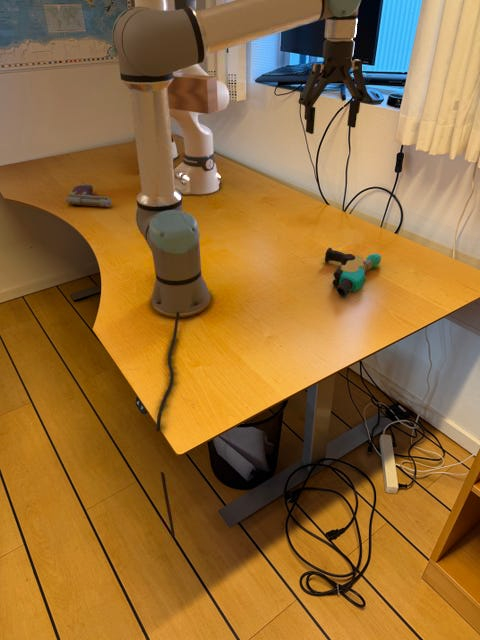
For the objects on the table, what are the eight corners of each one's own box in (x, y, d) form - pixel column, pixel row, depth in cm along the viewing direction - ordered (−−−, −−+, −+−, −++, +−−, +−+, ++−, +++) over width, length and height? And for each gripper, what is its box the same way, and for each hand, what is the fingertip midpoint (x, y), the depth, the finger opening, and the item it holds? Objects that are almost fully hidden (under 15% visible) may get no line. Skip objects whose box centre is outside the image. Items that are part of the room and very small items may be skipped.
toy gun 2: (303, 277, 126) (358, 291, 120) (334, 239, 144) (384, 250, 139) (302, 292, 128) (356, 306, 123) (333, 252, 147) (381, 263, 141)
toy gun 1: (124, 195, 187) (108, 210, 175) (80, 192, 190) (61, 206, 178) (122, 185, 185) (106, 200, 173) (78, 182, 188) (59, 197, 176)
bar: (217, 110, 138) (216, 76, 133) (208, 114, 135) (206, 79, 130) (157, 102, 148) (154, 70, 142) (147, 105, 144) (143, 73, 139)
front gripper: (370, 35, 124) (359, 121, 136) (287, 41, 115) (284, 132, 128) (389, 37, 118) (376, 126, 131) (304, 44, 110) (298, 138, 122)
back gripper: (168, 35, 143) (172, 85, 151) (122, 42, 129) (129, 97, 137) (185, 36, 140) (188, 87, 148) (140, 43, 126) (146, 100, 134)
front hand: (330, 129), depth 129 cm, fingers open, 13 cm apart
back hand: (159, 92), depth 142 cm, fingers closed on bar, 5 cm apart
